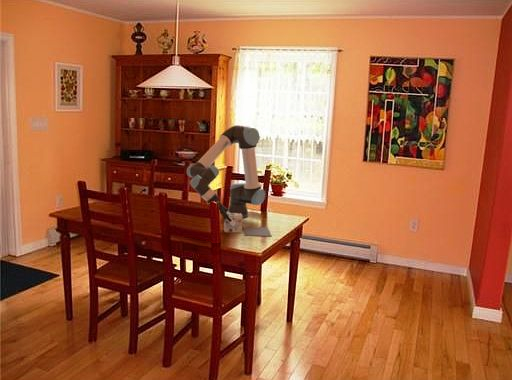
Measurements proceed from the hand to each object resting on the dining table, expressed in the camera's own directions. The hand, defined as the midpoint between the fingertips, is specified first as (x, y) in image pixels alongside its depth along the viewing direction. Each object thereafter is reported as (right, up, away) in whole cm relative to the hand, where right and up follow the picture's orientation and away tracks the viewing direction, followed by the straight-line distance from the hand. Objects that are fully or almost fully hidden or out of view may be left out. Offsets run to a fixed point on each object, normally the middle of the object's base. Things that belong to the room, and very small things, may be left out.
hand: (233, 222), depth 293 cm
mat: (+14, -6, +3) cm, 16 cm away
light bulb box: (-1, -6, +1) cm, 6 cm away
